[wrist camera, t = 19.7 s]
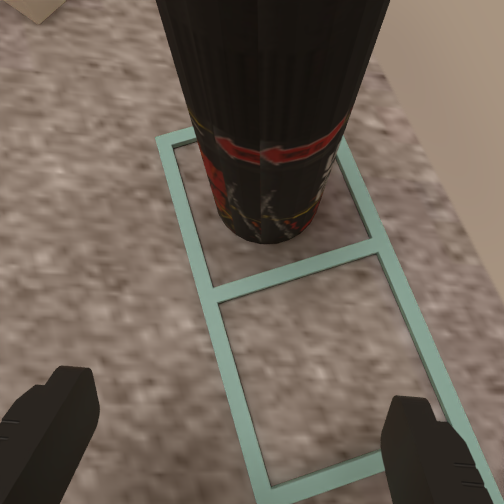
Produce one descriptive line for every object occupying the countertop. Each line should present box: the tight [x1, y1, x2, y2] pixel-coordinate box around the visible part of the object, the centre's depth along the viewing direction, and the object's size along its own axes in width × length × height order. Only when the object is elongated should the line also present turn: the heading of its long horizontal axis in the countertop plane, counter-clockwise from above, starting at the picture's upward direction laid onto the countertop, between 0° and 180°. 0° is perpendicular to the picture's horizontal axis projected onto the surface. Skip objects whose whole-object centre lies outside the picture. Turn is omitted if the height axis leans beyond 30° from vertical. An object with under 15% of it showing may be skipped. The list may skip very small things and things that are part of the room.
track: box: [155, 126, 504, 504], centre depth 19 cm, size 30×11×1 cm, turn 17°
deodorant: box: [156, 0, 390, 244], centre depth 15 cm, size 6×6×15 cm
